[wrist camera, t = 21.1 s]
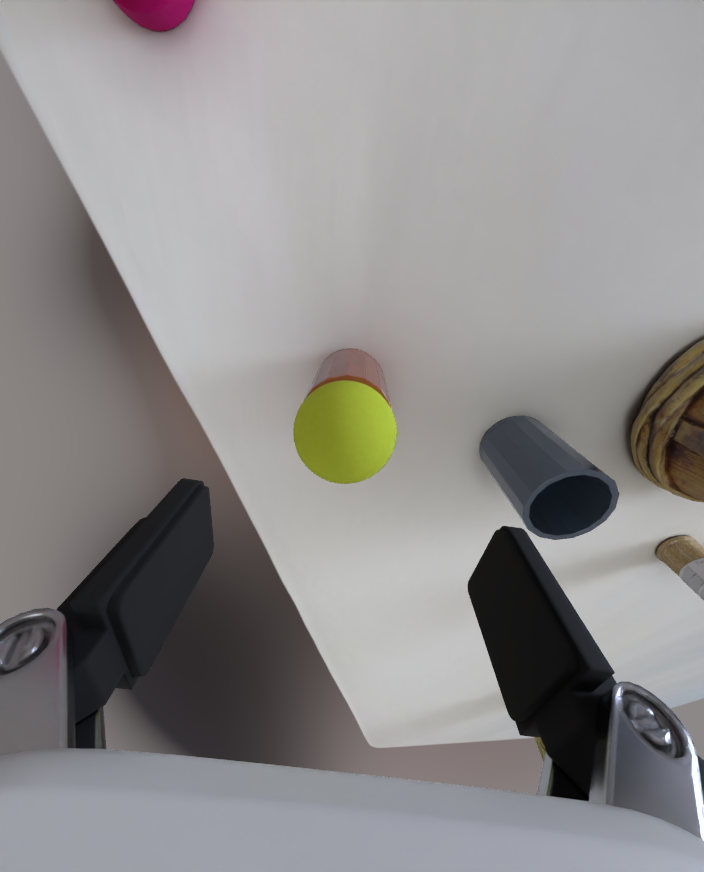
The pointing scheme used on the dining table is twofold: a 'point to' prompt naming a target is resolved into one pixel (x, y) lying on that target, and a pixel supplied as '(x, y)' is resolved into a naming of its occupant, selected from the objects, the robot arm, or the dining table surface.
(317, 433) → the ball
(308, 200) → the dining table surface
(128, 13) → the pepper mill
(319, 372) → the terracotta cup
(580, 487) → the grey cup
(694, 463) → the tankard
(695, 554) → the sprinkles bottle
